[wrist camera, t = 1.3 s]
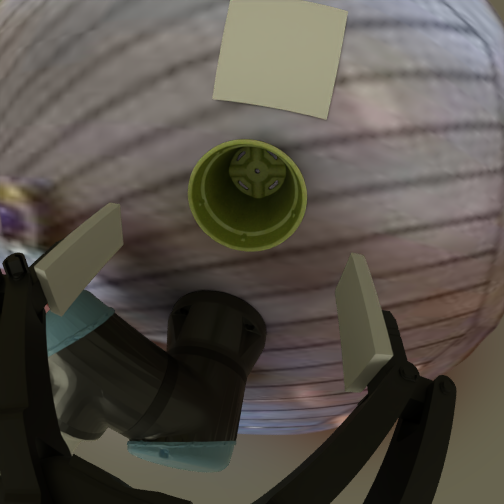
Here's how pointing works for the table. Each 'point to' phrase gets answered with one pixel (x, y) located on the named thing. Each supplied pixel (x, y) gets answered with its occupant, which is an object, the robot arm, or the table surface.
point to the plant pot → (247, 195)
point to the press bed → (280, 55)
